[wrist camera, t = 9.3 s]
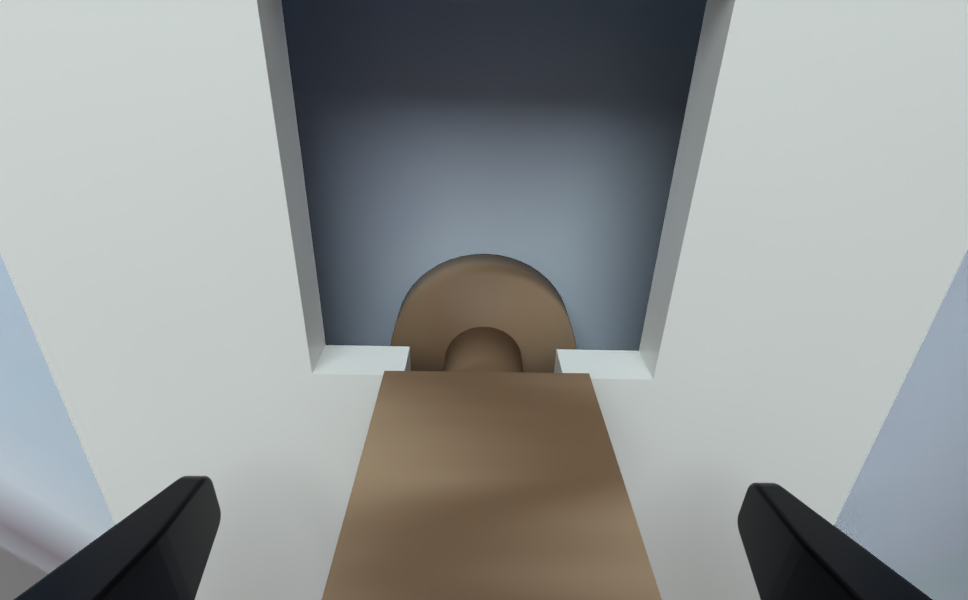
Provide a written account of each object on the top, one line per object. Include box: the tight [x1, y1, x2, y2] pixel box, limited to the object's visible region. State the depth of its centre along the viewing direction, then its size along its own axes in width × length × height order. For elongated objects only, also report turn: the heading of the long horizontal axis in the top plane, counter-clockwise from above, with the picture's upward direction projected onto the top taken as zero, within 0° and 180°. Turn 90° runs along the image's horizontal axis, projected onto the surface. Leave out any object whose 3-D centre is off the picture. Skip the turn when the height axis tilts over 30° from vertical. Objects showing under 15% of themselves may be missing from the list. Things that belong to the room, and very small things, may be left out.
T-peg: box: [322, 254, 662, 600], centre depth 9 cm, size 4×4×9 cm
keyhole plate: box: [0, 0, 968, 600], centre depth 10 cm, size 16×20×4 cm
